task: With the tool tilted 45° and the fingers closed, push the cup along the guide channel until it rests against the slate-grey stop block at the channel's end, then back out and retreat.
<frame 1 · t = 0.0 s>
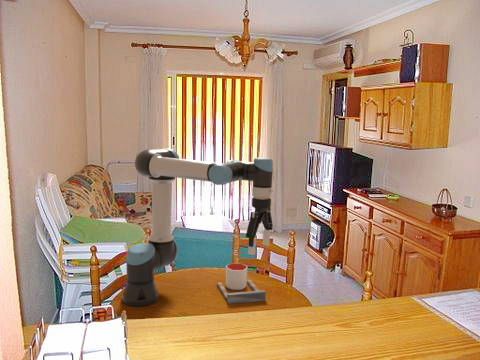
hand: (258, 249, 165), 28 cm above the table, tool pointing down, fingers open, 13 cm apart
track: (239, 291, 191), on the table
cup: (235, 287, 197), on the table
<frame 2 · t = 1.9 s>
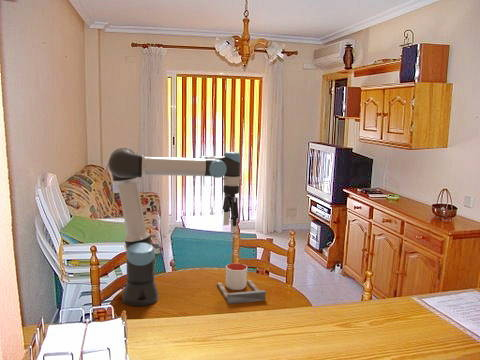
hand: (229, 228, 199), 27 cm above the table, tool pointing down, fingers open, 12 cm apart
nothing on the table moved.
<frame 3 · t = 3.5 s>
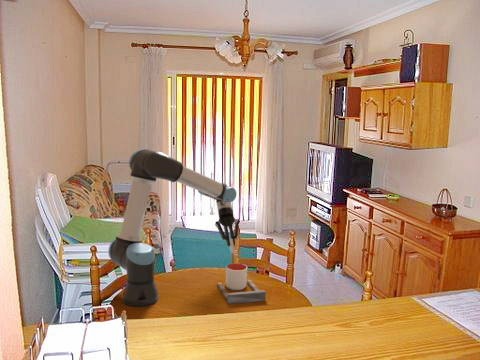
hand: (232, 251, 202), 15 cm above the table, tool tilted 45°, fingers closed
nothing on the table moved.
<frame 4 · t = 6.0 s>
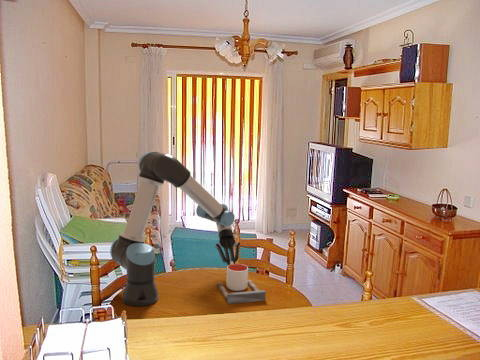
hand: (233, 274, 201), 4 cm above the table, tool tilted 45°, fingers closed
cup: (236, 288, 196), on the table, touching gripper
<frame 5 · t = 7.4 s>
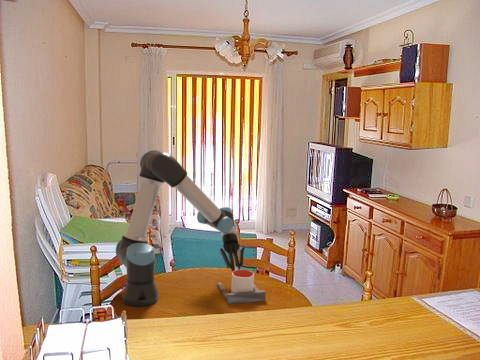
hand: (238, 280, 194), 4 cm above the table, tool tilted 45°, fingers closed
cup: (242, 294, 189), on the table, touching gripper
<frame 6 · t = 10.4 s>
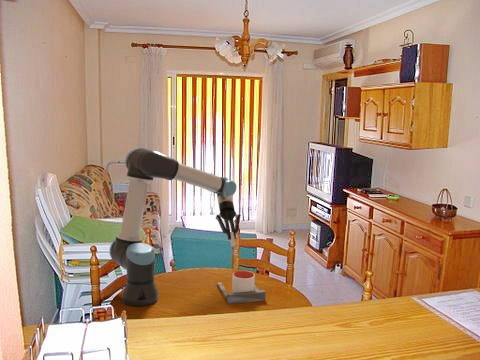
hand: (233, 245, 199), 19 cm above the table, tool tilted 45°, fingers closed
cup: (242, 295, 188), on the table
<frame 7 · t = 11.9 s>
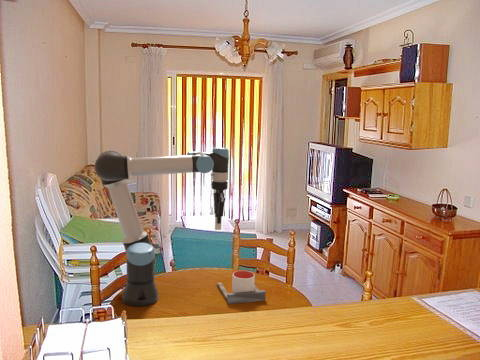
hand: (218, 229, 198), 26 cm above the table, tool pointing down, fingers closed
nothing on the table moved.
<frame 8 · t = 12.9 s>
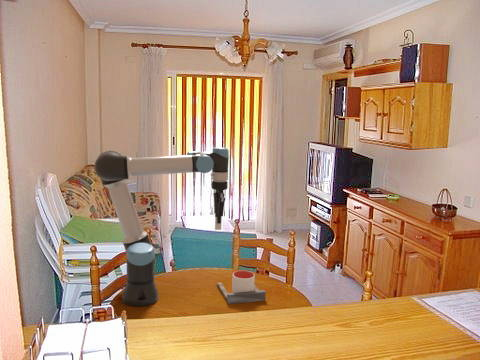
hand: (218, 229, 197), 26 cm above the table, tool pointing down, fingers closed
nothing on the table moved.
at the end: cup 0.1 cm from the target spot, on the table; cup tilted 0°; cup moved 9.9 cm from its start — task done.
